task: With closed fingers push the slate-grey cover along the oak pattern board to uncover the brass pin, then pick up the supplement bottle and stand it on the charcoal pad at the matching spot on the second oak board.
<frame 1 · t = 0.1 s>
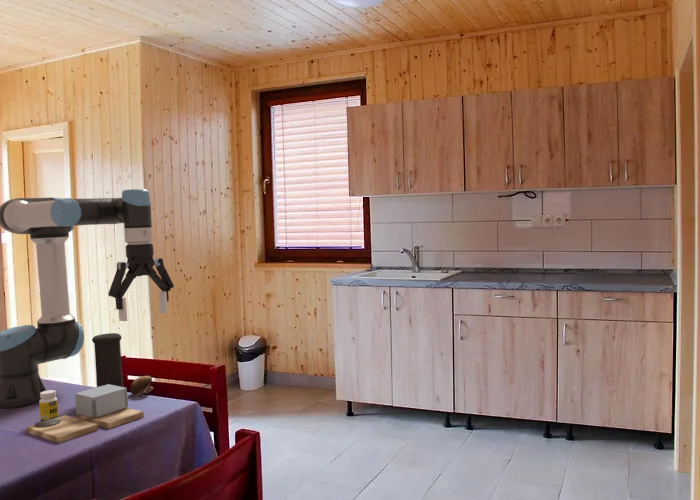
hand: (144, 317, 181), 28 cm above the table, fingers open, 13 cm apart
pattern board: (110, 418, 179), on the table
cover: (101, 400, 180), point 5 cm above the table, slide at 0.0 cm
mushroom: (142, 394, 202), on the table
container: (110, 396, 202), on the table
supplement bottle: (50, 421, 179), on the table
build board: (62, 431, 169), on the table
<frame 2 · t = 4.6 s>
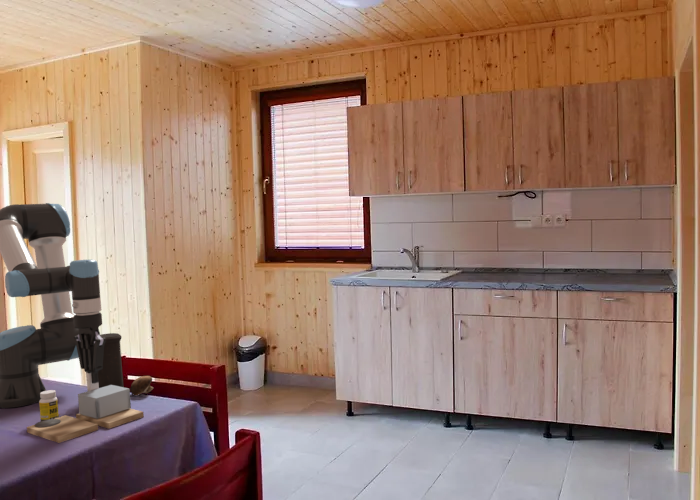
hand: (93, 393, 183), 6 cm above the table, fingers closed
cover: (104, 401, 180), point 5 cm above the table, slide at 1.4 cm, touching gripper
everything else where it was.
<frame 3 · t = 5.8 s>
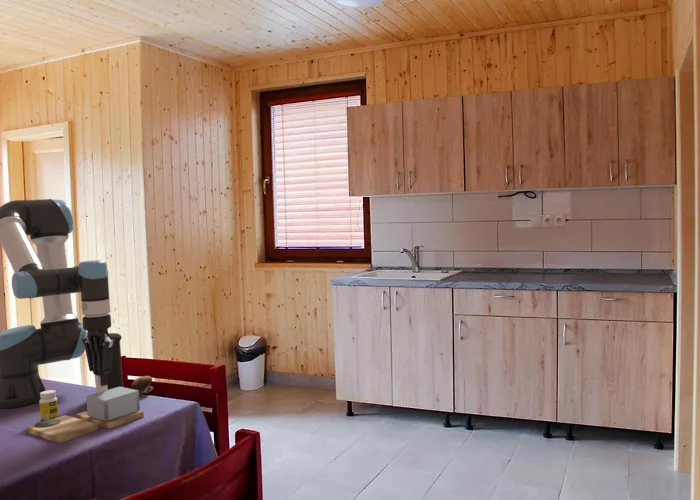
hand: (102, 396, 180), 6 cm above the table, fingers closed
cover: (113, 403, 177), point 5 cm above the table, slide at 5.7 cm, touching gripper
everything else where it was.
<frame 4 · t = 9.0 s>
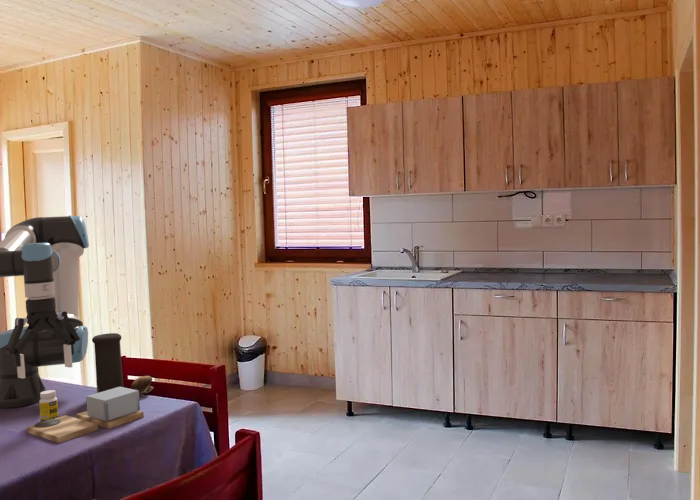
hand: (45, 372, 178), 14 cm above the table, fingers open, 13 cm apart
cover: (113, 403, 177), point 5 cm above the table, slide at 5.7 cm
everything else where it was.
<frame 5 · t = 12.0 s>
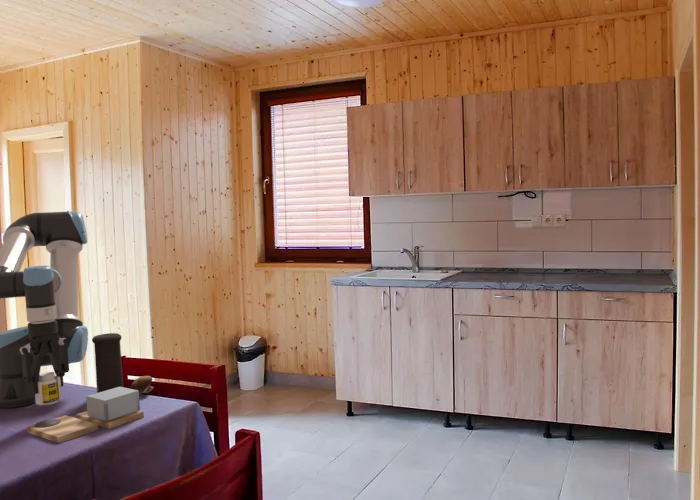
hand: (49, 401, 179), 6 cm above the table, fingers closed on supplement bottle, 5 cm apart
supplement bottle: (49, 403, 179), point 5 cm above the table, touching gripper
everything else where it was.
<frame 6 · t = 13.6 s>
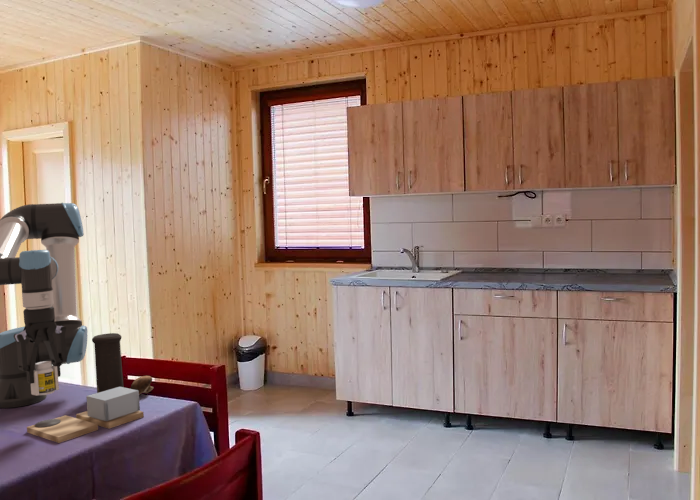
hand: (45, 391, 171), 10 cm above the table, fingers closed on supplement bottle, 5 cm apart
supplement bottle: (45, 393, 171), point 10 cm above the table, touching gripper
everything else where it was.
when the fingers open (2 cm above the table, at t = 15.2 s): supplement bottle stays where it is, resting on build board.
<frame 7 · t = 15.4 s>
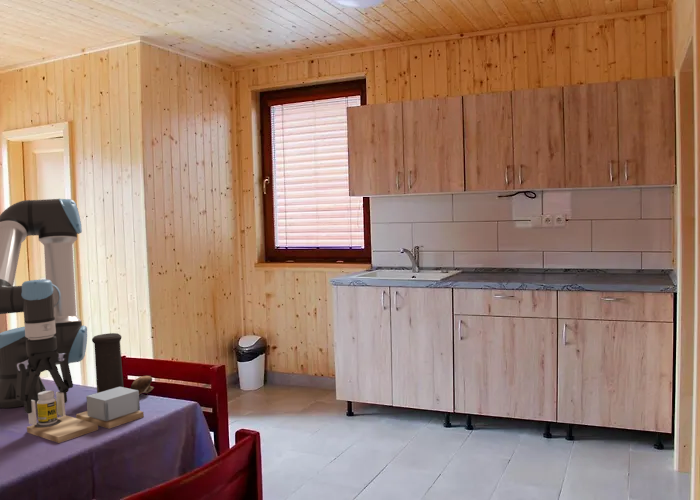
hand: (47, 419, 172), 3 cm above the table, fingers open, 7 cm apart
supplement bottle: (48, 423, 172), point 2 cm above the table, touching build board
everything else where it was.
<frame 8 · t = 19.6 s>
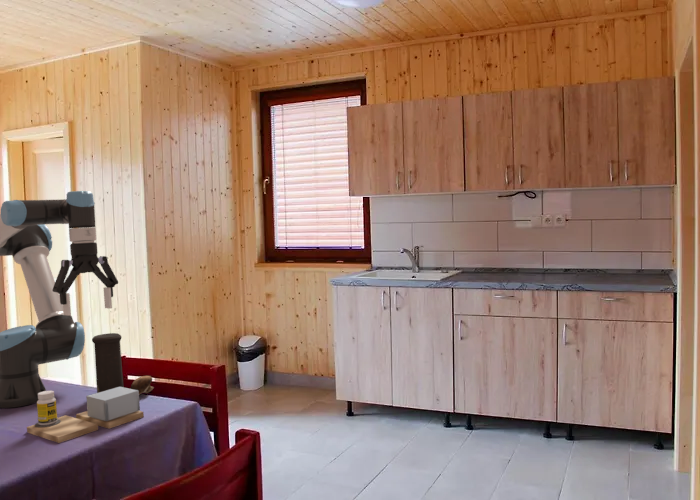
hand: (88, 311, 192), 29 cm above the table, fingers open, 13 cm apart
nothing on the table moved.
at the end: cover slide at 5.7 cm; supplement bottle 0.1 cm from the target spot on the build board, point 1.5 cm above the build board's base; supplement bottle tilted 0° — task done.
